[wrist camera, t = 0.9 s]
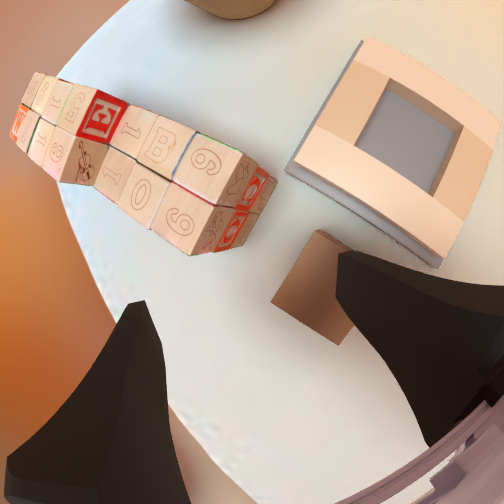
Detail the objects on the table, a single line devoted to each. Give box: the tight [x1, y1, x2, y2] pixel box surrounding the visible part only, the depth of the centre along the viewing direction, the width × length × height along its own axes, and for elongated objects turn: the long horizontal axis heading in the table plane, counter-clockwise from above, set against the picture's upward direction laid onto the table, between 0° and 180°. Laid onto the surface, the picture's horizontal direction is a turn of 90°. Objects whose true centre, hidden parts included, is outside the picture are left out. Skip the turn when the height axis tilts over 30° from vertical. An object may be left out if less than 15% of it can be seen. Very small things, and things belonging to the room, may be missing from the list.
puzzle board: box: [284, 36, 501, 269], centre depth 17 cm, size 14×14×3 cm
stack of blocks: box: [9, 72, 277, 256], centre depth 19 cm, size 21×6×12 cm, turn 60°
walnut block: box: [271, 229, 354, 345], centre depth 19 cm, size 5×5×6 cm
